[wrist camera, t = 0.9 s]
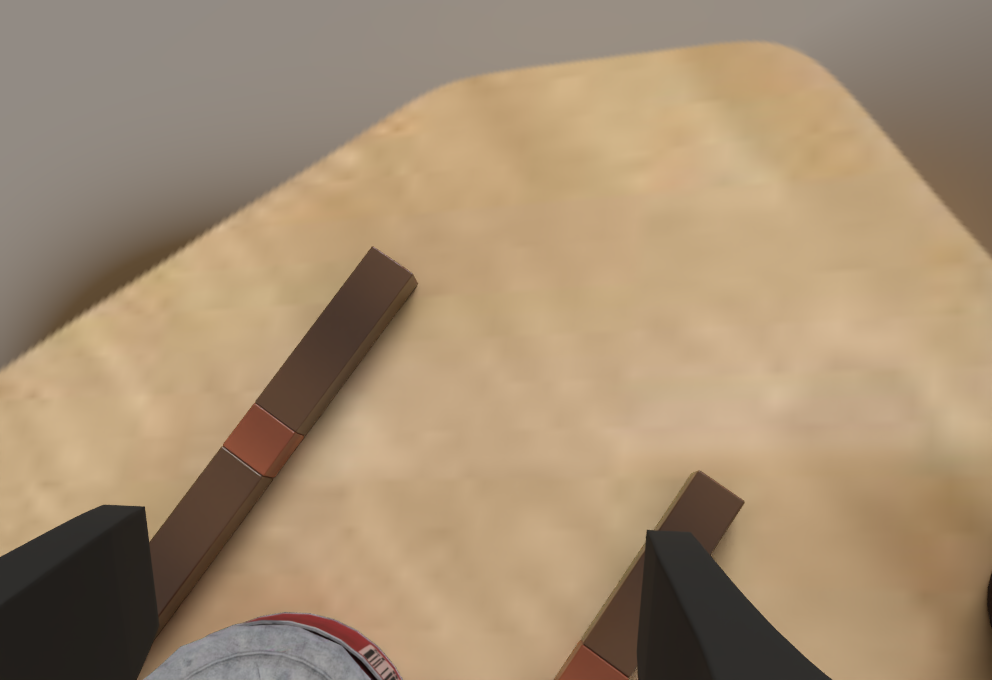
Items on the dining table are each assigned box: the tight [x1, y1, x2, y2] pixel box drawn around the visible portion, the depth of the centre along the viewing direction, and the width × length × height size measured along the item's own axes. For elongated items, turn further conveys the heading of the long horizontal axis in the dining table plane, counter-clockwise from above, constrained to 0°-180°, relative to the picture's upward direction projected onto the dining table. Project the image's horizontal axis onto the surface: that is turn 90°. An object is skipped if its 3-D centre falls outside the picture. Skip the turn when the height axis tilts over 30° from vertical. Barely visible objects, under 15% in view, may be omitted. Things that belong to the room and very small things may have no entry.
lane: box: [149, 246, 744, 680], centre depth 34 cm, size 22×17×2 cm
